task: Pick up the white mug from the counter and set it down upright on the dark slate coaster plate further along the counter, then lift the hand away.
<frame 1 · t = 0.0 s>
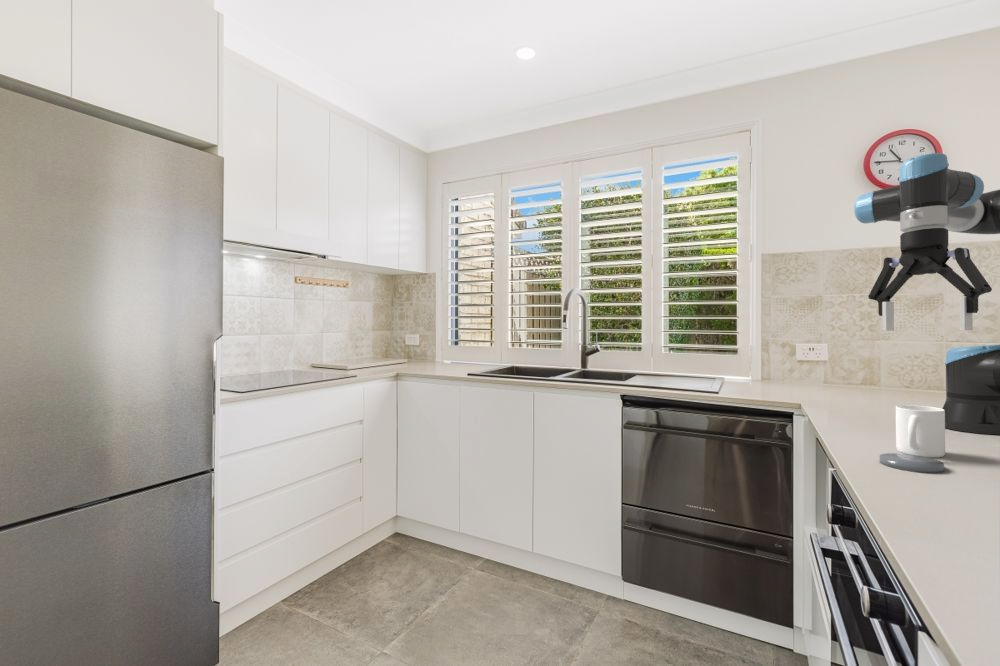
hand: (924, 330, 98), 28 cm above the countertop, fingers open, 13 cm apart
mug: (917, 455, 104), on the countertop
slate plate: (910, 465, 96), on the countertop
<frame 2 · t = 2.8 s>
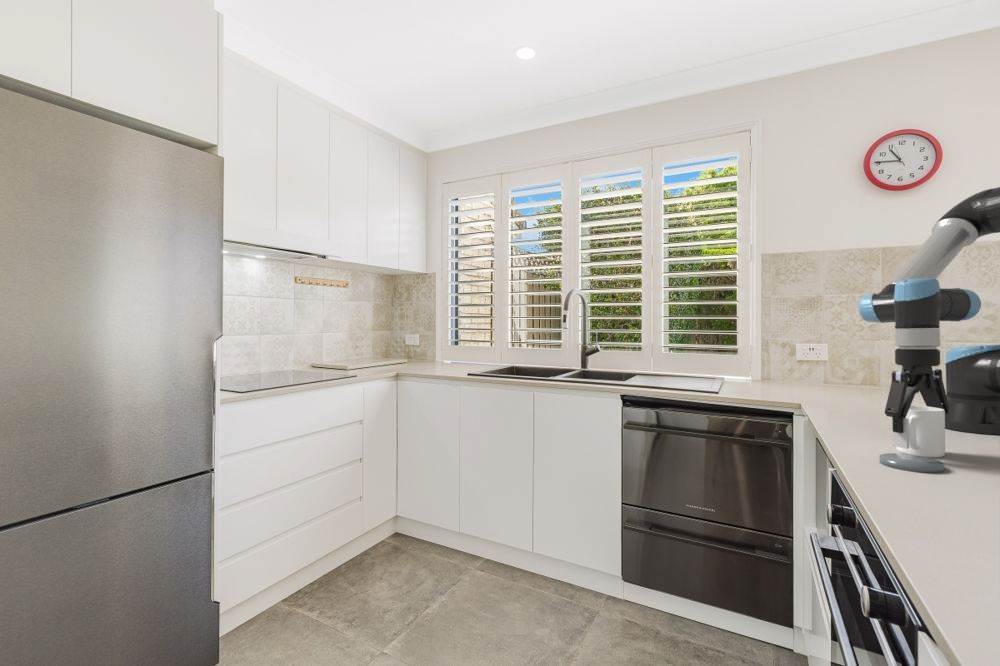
hand: (918, 444, 104), 2 cm above the countertop, fingers closed on mug, 12 cm apart
mug: (917, 455, 104), on the countertop, touching gripper
when the fingers open (4 cm above the countertop, at t = 9.0 s): mug stays where it is, resting on slate plate.
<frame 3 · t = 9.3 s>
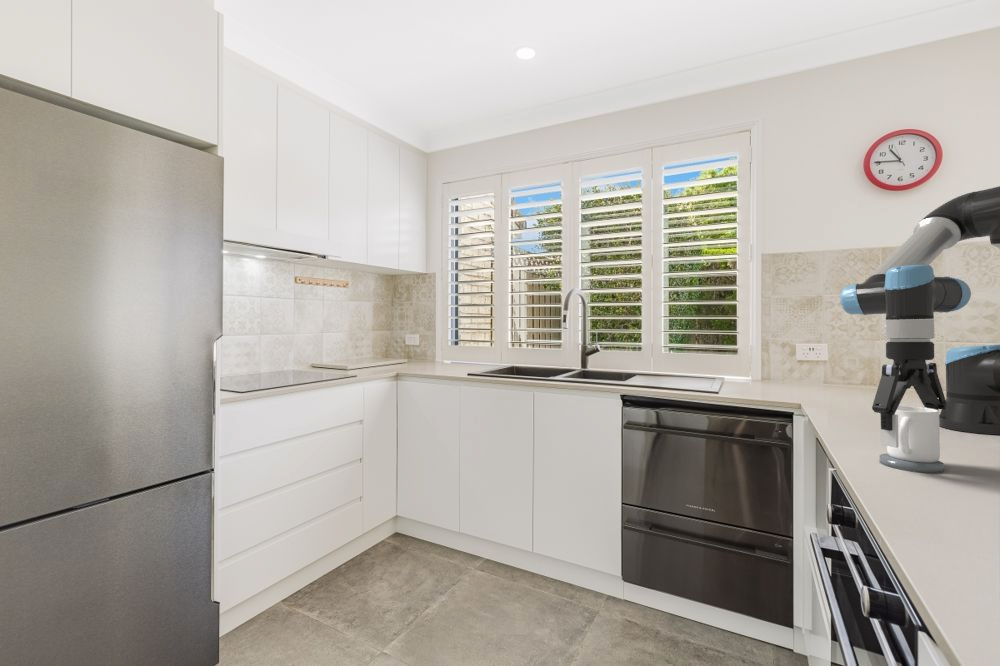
hand: (910, 442, 96), 5 cm above the countertop, fingers open, 13 cm apart
mug: (910, 460, 96), point 1 cm above the countertop, touching slate plate
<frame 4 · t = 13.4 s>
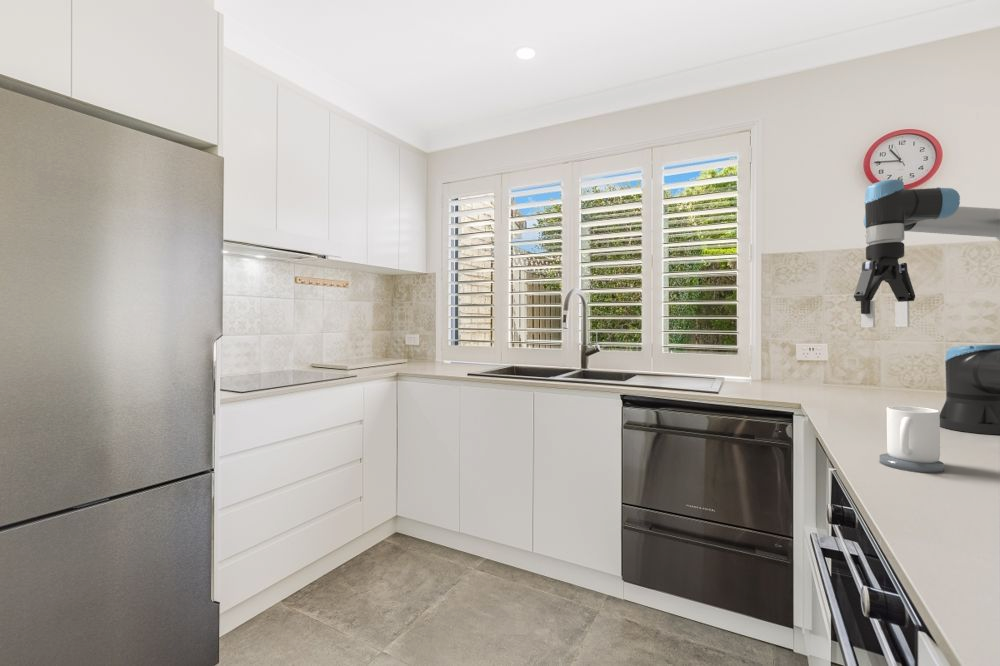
hand: (885, 327, 117), 29 cm above the countertop, fingers open, 13 cm apart
nothing on the countertop moved.
at the end: mug inside the target area on the slate plate (0.1 cm from its centre), point 1.0 cm above the slate plate's base; mug tilted 0°; the gripper is holding nothing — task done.
